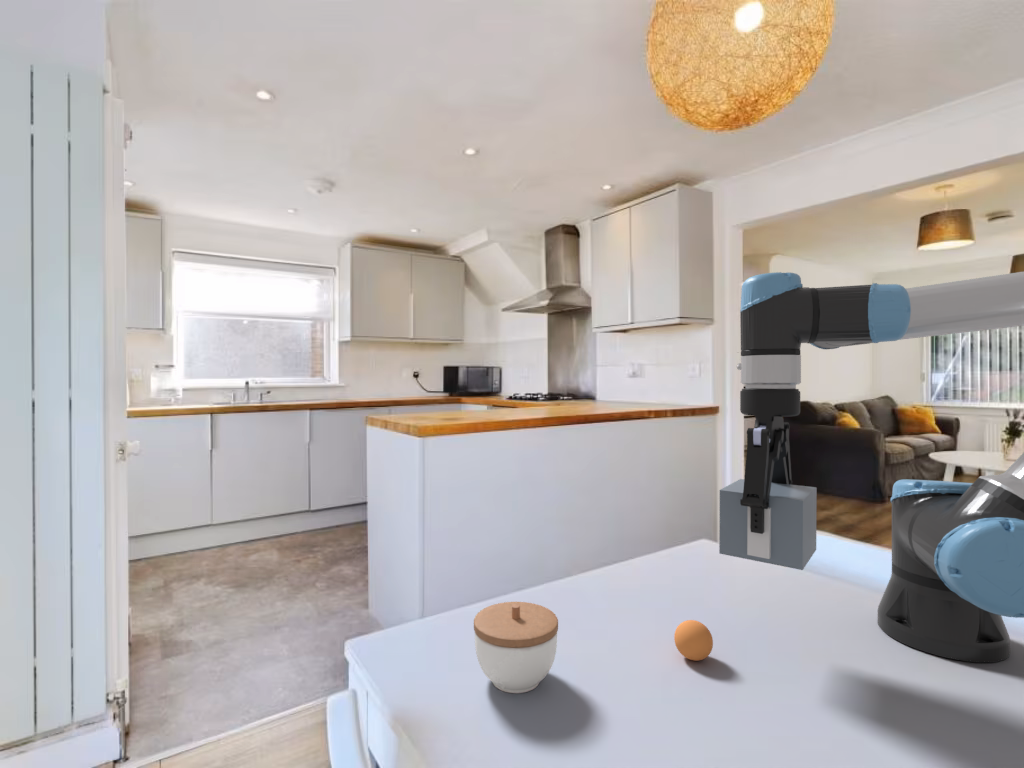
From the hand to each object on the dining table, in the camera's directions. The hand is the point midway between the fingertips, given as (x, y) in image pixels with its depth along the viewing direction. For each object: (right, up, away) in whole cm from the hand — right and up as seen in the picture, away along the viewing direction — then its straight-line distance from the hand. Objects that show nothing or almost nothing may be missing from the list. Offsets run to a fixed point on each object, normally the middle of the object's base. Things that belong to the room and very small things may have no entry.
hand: (768, 545), depth 74 cm
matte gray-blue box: (0, -1, 0) cm, 1 cm away
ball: (-11, -12, -2) cm, 17 cm away
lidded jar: (-35, -15, -7) cm, 39 cm away
